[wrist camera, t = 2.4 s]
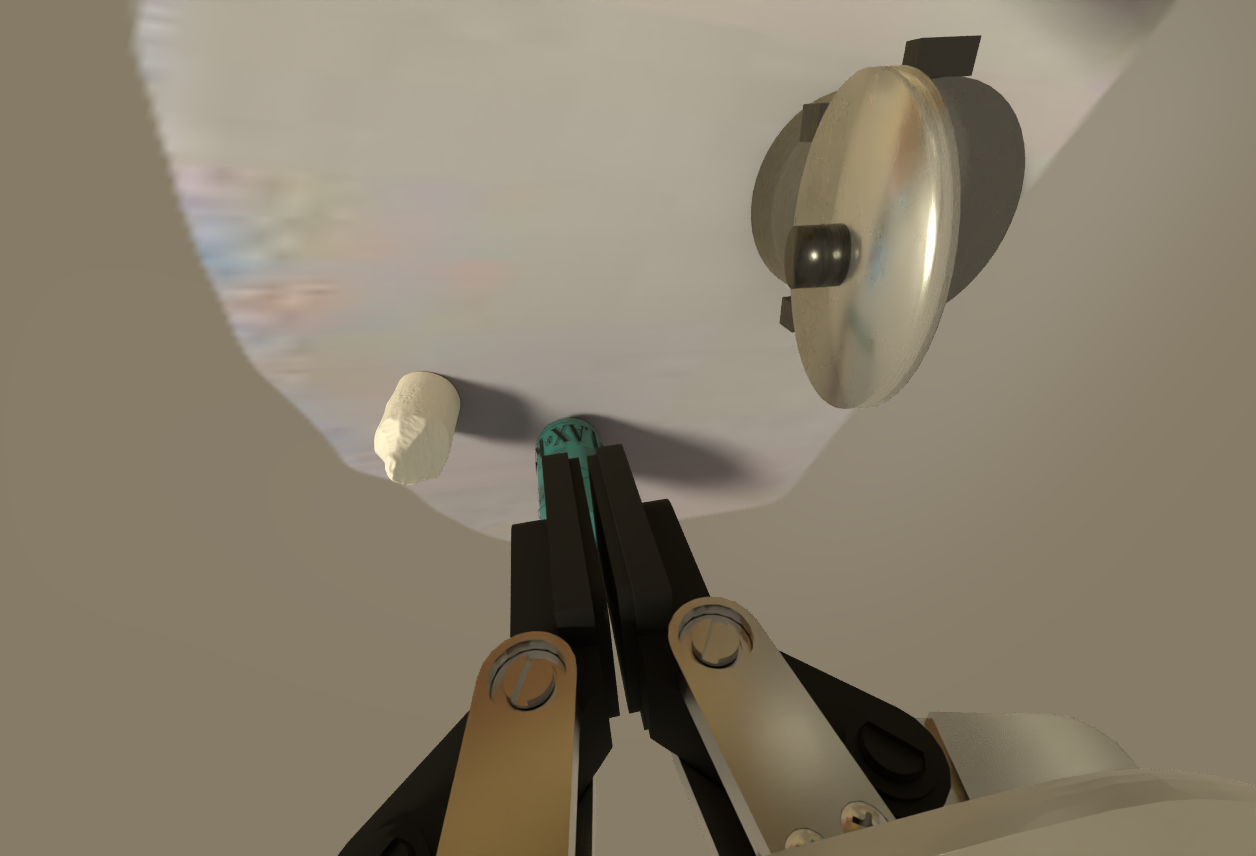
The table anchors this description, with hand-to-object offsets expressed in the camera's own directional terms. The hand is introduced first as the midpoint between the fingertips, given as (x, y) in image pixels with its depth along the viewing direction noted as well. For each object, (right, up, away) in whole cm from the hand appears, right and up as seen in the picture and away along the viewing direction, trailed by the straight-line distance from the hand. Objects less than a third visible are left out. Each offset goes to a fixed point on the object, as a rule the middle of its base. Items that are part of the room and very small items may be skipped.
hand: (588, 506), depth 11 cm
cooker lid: (+13, +11, +16) cm, 24 cm away
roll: (-17, +4, +35) cm, 39 cm away
